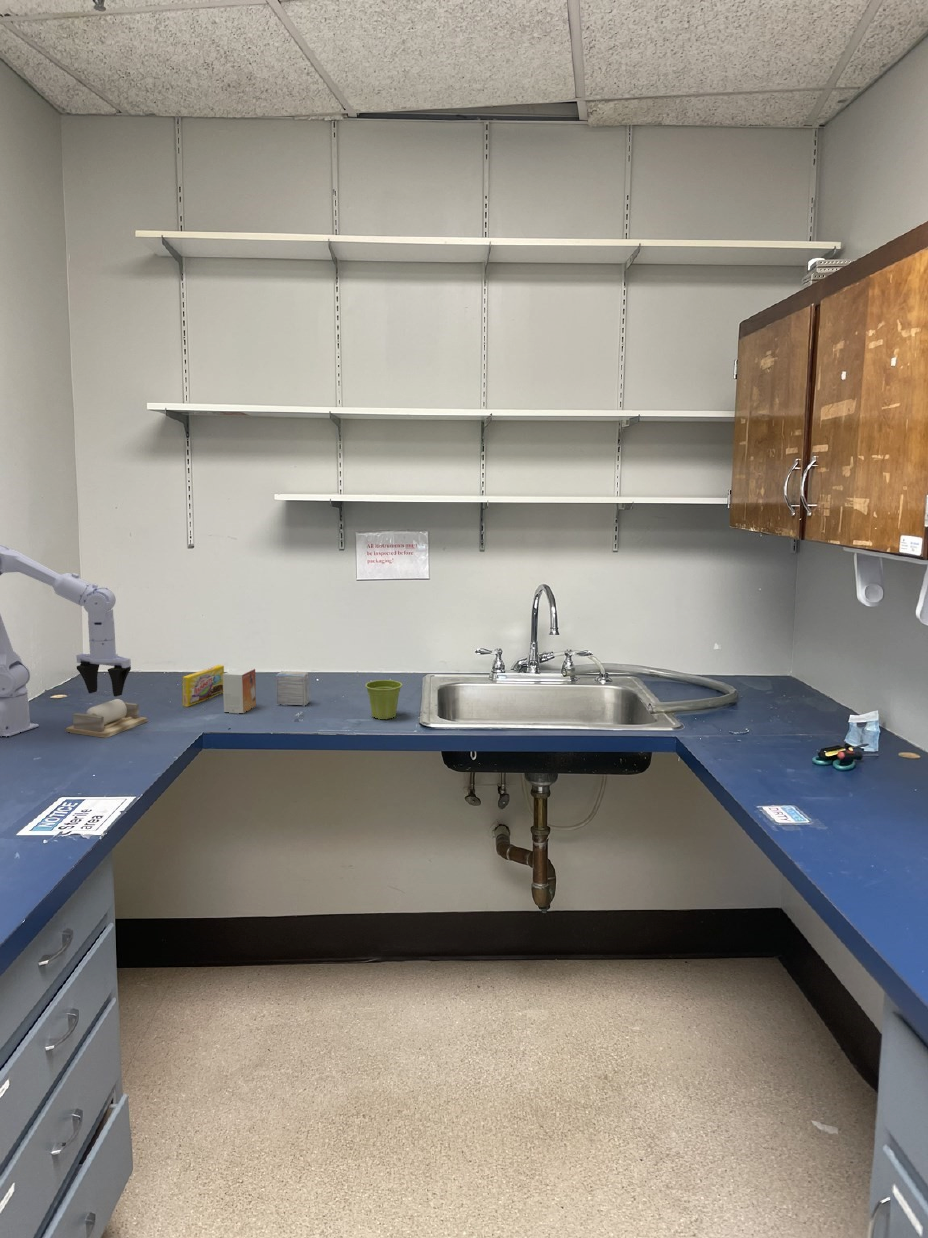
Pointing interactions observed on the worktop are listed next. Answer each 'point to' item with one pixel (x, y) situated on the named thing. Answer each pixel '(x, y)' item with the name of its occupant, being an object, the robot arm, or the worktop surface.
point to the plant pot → (383, 698)
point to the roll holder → (96, 726)
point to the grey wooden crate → (292, 688)
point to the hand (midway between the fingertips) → (105, 694)
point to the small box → (239, 690)
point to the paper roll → (109, 710)
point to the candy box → (202, 685)
